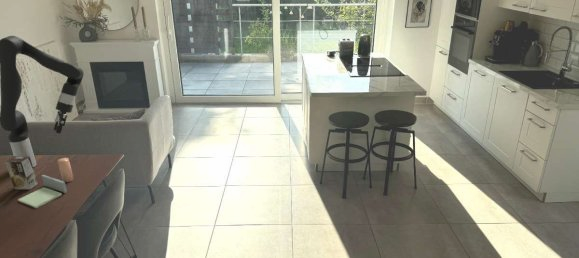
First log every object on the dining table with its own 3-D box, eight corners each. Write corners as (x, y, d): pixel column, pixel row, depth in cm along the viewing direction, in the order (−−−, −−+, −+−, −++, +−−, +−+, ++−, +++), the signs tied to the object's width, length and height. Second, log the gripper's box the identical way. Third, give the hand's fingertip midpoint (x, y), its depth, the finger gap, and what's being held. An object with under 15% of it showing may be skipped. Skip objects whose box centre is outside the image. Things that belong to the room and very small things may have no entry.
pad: (18, 201, 191) (18, 199, 191) (44, 188, 202) (43, 187, 202) (36, 208, 185) (35, 206, 185) (61, 194, 196) (61, 193, 196)
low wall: (44, 185, 205) (41, 175, 202) (46, 184, 206) (43, 174, 203) (65, 193, 198) (62, 182, 195) (67, 191, 199) (64, 181, 196)
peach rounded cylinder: (60, 181, 209) (55, 161, 204) (69, 176, 213) (64, 157, 209) (67, 183, 207) (61, 163, 202) (75, 178, 211) (70, 158, 207)
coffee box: (38, 183, 207) (30, 156, 201) (30, 189, 201) (21, 162, 195) (22, 182, 208) (14, 155, 202) (13, 189, 202) (4, 161, 196)
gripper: (56, 99, 210) (47, 127, 210) (60, 102, 199) (50, 132, 199) (71, 102, 215) (62, 131, 215) (76, 106, 204) (66, 135, 204)
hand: (56, 131), depth 207 cm, fingers open, 8 cm apart
